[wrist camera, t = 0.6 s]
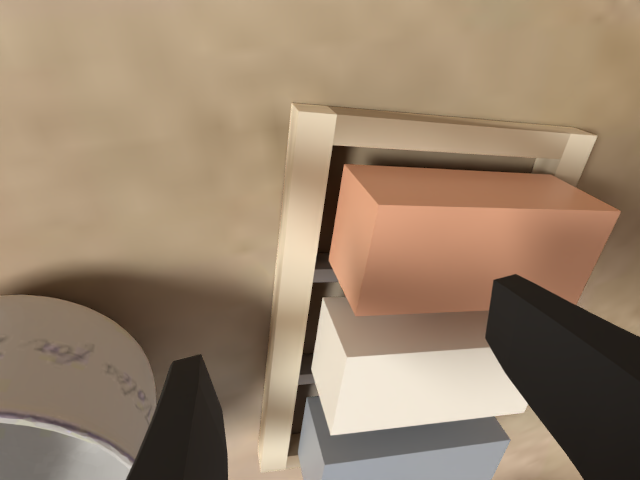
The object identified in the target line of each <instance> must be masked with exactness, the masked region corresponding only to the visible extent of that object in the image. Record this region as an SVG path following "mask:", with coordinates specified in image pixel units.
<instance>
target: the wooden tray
mask: <svg viewBox="0 0 640 480" xmlns="http://www.w3.org/2000/svg"><path fill="white" fill-rule="evenodd" d="M596 138H597V136H596V135H594V134H591V133H588V132H585V131H583V130H580V129H577V128H574V127H564V126H552V125H541V124H529V123H518V122H506V121H495V120H483V119H472V118H460V117H449V116H437V115H426V114H415V113H403V112H392V111H380V110H369V109H357V108H346V107H334V106H323V105H311V104H300V103H292V105H291V115H290V125H289V135H288V146H287V156H286V166H285V176H284V187H283V197H282V207H281V217H280V228H279V238H278V248H277V258H276V269H275V279H274V289H273V299H272V310H271V320H270V330H269V340H268V351H267V361H266V371H265V381H264V392H263V402H262V412H261V422H260V433H259V443H258V457H259V465H260V473H265V472H272V471H279V470H287V469H294V468H301V466H300V461H299V456H298V448H299V442H300V436H301V433H297V434H291V428H292V421H293V414H294V407H295V401H296V394H297V387H298V385H302V384H314V383H315V380H314V377H313V374H312V370H311V367H312V361H313V355H314V354H304V355H302V352H303V345H304V339H305V332H306V325H307V318H308V311H309V304H310V297H311V290H312V283H313V282H339V281H338V279H337V277H336V275H335V273H334V271H333V269H332V267H331V265H330V262H329V255H330V253H317V249H318V242H319V235H320V228H321V221H322V215H323V208H324V201H325V194H326V187H327V180H328V173H329V166H330V159H331V153H332V146H333V145H339V146H355V147H370V148H386V149H402V150H418V151H434V152H450V153H466V154H482V155H498V156H514V157H530V158H536V161H535V163H534V166H533V169H532V172H531V174H549V175H553V176H555V177H557V178H558V179H560V180H562V181H564V182H566V183H568V184H570V185H572V186H574V187H576V186H577V183H578V181H579V179H580V176H581V174H582V172H583V169H584V167H585V164H586V162H587V160H588V157H589V155H590V153H591V150H592V148H593V145H594V143H595V141H596Z"/></svg>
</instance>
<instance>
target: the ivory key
mask: <svg viewBox="0 0 640 480" xmlns="http://www.w3.org/2000/svg"><path fill="white" fill-rule="evenodd" d="M488 314H489V310H488V311H465V312H443V313H421V314H398V315H376V316H355V314H354V312H353V310H352V308H351V306H350V304H349V302H348V300H347V298H346V297H323V299H322V305H321V311H320V318H319V324H318V330H317V336H316V342H315V349H314V355H313V361H312V367H311V370H312V374H313V377H314V380H315V384H316V387H317V391H318V394H319V397H320V401H321V404H322V408H323V411H324V414H325V418H326V421H327V424H328V428H329V431H330V435H340V434H348V433H357V432H365V431H374V430H382V429H390V428H399V427H407V426H416V425H424V424H433V423H441V422H450V421H458V420H467V419H475V418H483V417H492V416H500V415H509V414H517V413H524V411H525V409H526V407H527V405H528V403H527V402H526V401H525V399H524V398H523V397H522V395H521V394H520V393H519V391H518V390H517V389H516V387H515V386H514V385H513V383H512V382H511V380H510V379H509V378H508V376H507V375H506V374H505V372H504V370H503V369H502V367H501V365H500V364H499V362H498V360H497V359H496V357H495V355H494V353H493V352H492V350H491V348H490V346H489V344H488V343H487V341H486V339H485V334H486V327H487V321H488Z"/></svg>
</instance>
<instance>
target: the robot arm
mask: <svg viewBox="0 0 640 480" xmlns="http://www.w3.org/2000/svg"><path fill="white" fill-rule="evenodd" d="M485 339H486V341H487V343H488V344H489V346H490V348H491V350H492V352H493V353H494V355H495V357H496V359H497V360H498V362H499V364H500V365H501V367H502V369H503V370H504V372H505V374H506V375H507V376H508V378H509V379H510V380H511V382H512V383H513V385H514V386H515V387H516V389H517V390H518V391H519V393H520V394H521V395H522V397H523V398H524V399H525V401H526V402H527V403H528V404H529V406H530V407H531V408H532V410H533V411H534V412H535V414H536V415H537V416H538V418H539V419H540V420H541V421H542V423H543V424H544V425H545V427H546V428H547V429H548V431H549V432H550V433H551V435H552V436H553V437H554V439H555V440H556V441H557V442H558V444H559V445H560V446H561V448H562V449H563V450H564V452H565V453H566V454H567V456H568V457H569V459H570V460H571V461H572V463H573V464H574V466H575V467H576V468H577V470H578V471H579V473H580V474H581V476H582V478H583V479H584V480H640V337H639V336H636V335H634V334H632V333H630V332H628V331H626V330H624V329H622V328H620V327H618V326H616V325H614V324H612V323H610V322H608V321H606V320H604V319H602V318H600V317H598V316H596V315H594V314H592V313H590V312H588V311H586V310H584V309H582V308H580V307H579V306H577V305H575V304H573V303H571V302H569V301H567V300H565V299H563V298H562V297H560V296H558V295H556V294H554V293H552V292H550V291H548V290H546V289H545V288H543V287H541V286H539V285H537V284H535V283H533V282H531V281H529V280H527V279H525V278H523V277H521V276H519V275H517V274H514V275H510V276H506V277H502V278H498V279H494V280H493V286H492V293H491V300H490V307H489V314H488V321H487V327H486V334H485ZM126 480H228V459H227V446H226V437H225V429H224V421H223V413H222V408H221V406H220V403H219V400H218V398H217V395H216V392H215V390H214V387H213V384H212V382H211V379H210V376H209V374H208V371H207V368H206V366H205V363H204V360H203V358H202V355H201V354H200V355H196V356H192V357H188V358H184V359H181V360H177V361H174V362H173V363H172V364H171V366H170V368H169V371H168V375H167V378H166V381H165V384H164V387H163V390H162V393H161V395H160V398H159V401H158V404H157V406H156V409H155V412H154V414H153V417H152V420H151V422H150V425H149V427H148V429H147V432H146V434H145V437H144V439H143V442H142V444H141V446H140V449H139V451H138V454H137V456H136V458H135V461H134V463H133V465H132V467H131V469H130V472H129V474H128V476H127V478H126Z"/></svg>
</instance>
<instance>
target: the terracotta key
mask: <svg viewBox="0 0 640 480" xmlns="http://www.w3.org/2000/svg"><path fill="white" fill-rule="evenodd" d="M620 213H621V211H620V210H618V209H616V208H614V207H612V206H610V205H608V204H606V203H604V202H603V201H601V200H599V199H597V198H595V197H593V196H591V195H589V194H587V193H585V192H583V191H581V190H580V189H578V188H576V187H574V186H572V185H570V184H568V183H566V182H564V181H562V180H560V179H558V178H557V177H555V176H553V175H549V174H529V173H510V172H490V171H471V170H451V169H432V168H413V167H393V166H374V165H354V164H344V168H343V174H342V181H341V187H340V193H339V199H338V205H337V212H336V218H335V224H334V230H333V237H332V243H331V249H330V255H329V262H330V265H331V267H332V269H333V271H334V273H335V275H336V277H337V279H338V281H339V283H340V285H341V287H342V289H343V292H344V294H345V296H346V298H347V300H348V302H349V304H350V306H351V308H352V310H353V312H354V314H355V316H376V315H398V314H421V313H443V312H465V311H488V310H489V307H490V300H491V293H492V286H493V280H494V279H498V278H502V277H506V276H510V275H514V274H517V275H519V276H521V277H523V278H525V279H527V280H529V281H531V282H533V283H535V284H537V285H539V286H541V287H543V288H545V289H546V290H548V291H550V292H552V293H554V294H556V295H558V296H560V297H562V298H563V299H565V300H567V301H569V302H571V303H573V304H575V305H576V304H577V302H578V300H579V298H580V296H581V294H582V291H583V289H584V287H585V285H586V283H587V281H588V279H589V277H590V275H591V273H592V271H593V269H594V267H595V265H596V263H597V261H598V258H599V256H600V254H601V252H602V250H603V248H604V246H605V244H606V242H607V240H608V238H609V236H610V234H611V232H612V230H613V227H614V225H615V223H616V221H617V219H618V217H619V215H620Z"/></svg>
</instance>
